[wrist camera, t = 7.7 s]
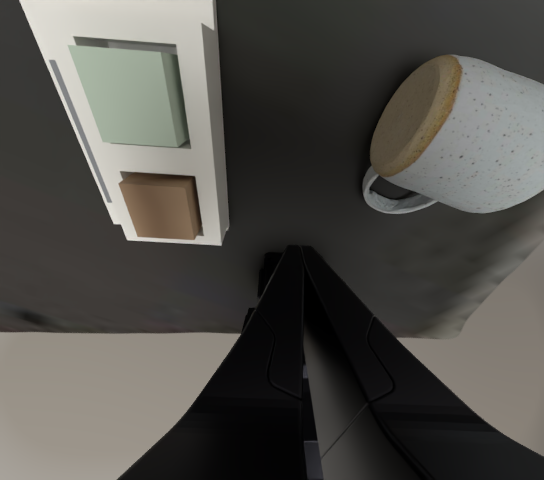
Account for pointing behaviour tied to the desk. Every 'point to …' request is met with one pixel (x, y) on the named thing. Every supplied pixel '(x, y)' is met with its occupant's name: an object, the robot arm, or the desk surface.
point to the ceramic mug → (460, 138)
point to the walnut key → (162, 205)
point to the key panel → (195, 83)
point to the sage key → (133, 95)
